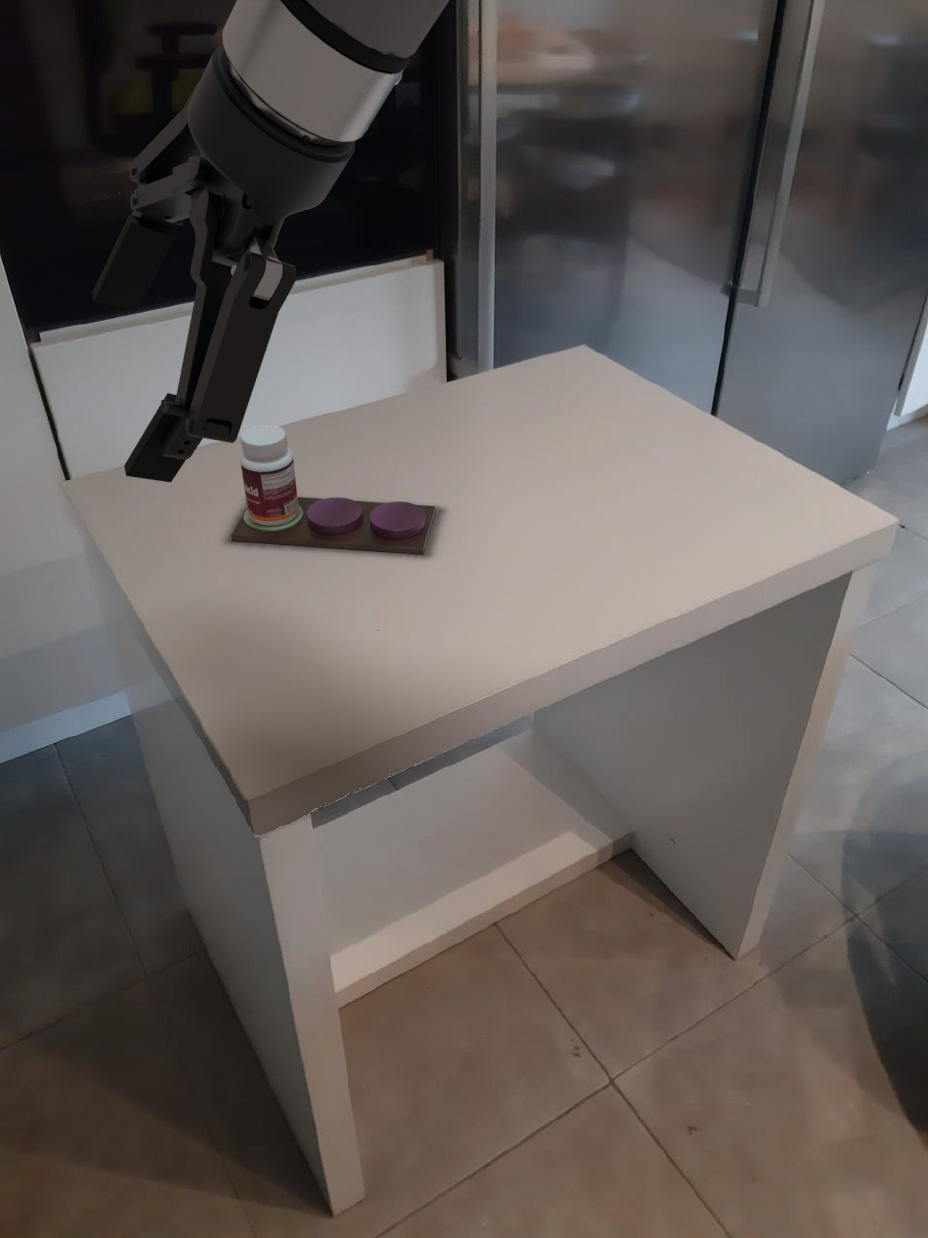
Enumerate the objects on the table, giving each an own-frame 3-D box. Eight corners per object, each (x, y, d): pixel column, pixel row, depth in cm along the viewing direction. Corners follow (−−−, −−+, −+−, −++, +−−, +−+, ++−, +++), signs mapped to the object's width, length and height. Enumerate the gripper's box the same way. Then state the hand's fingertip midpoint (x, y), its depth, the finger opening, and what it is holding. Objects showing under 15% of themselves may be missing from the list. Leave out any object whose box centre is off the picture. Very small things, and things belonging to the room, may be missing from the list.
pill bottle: (242, 508, 94) (229, 428, 89) (289, 496, 96) (279, 418, 91) (257, 532, 91) (245, 450, 86) (306, 519, 92) (297, 439, 87)
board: (231, 540, 91) (229, 526, 90) (255, 499, 97) (253, 485, 96) (423, 554, 89) (422, 539, 88) (435, 511, 95) (435, 496, 94)
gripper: (427, 307, 44) (225, 561, 57) (302, -30, 54) (156, 255, 67) (277, 259, 39) (96, 549, 52) (172, -102, 49) (43, 221, 63)
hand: (130, 384), depth 60 cm, fingers open, 13 cm apart
